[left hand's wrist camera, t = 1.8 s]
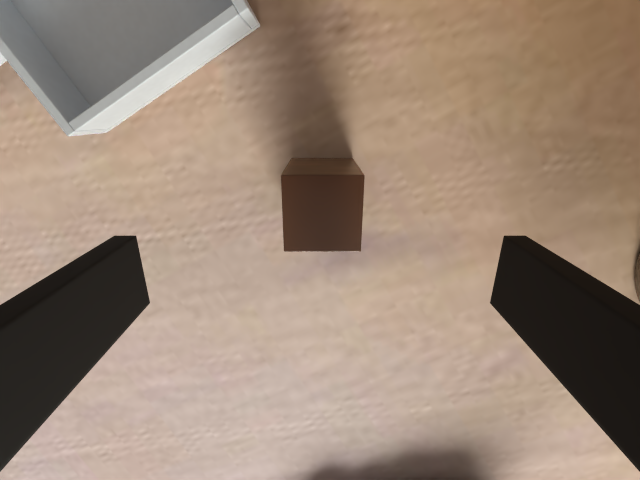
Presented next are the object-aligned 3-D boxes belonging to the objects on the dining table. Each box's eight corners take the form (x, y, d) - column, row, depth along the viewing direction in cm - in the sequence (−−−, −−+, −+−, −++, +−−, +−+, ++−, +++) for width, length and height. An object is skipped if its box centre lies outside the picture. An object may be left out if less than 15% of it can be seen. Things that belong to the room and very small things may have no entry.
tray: (122, -227, 18) (51, -347, 13) (261, 25, 22) (244, 2, 17) (-169, 46, 22) (-299, 28, 18) (-10, 213, 26) (-81, 235, 22)
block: (353, 158, 25) (364, 174, 18) (351, 217, 26) (360, 252, 20) (291, 158, 25) (281, 174, 18) (293, 217, 26) (284, 251, 20)
